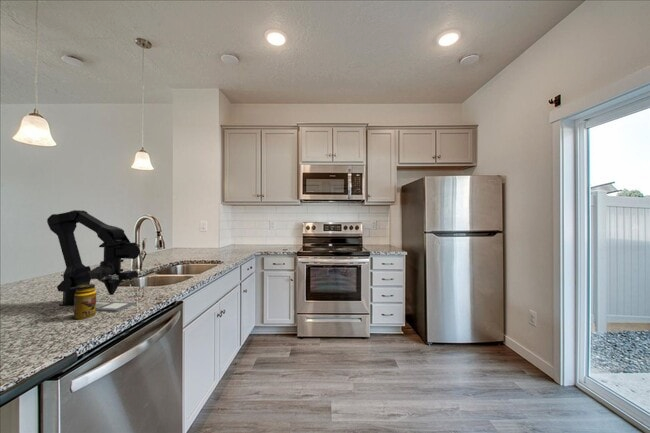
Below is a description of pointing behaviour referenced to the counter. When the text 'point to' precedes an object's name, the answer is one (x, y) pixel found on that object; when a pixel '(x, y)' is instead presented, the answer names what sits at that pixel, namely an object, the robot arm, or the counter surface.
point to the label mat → (112, 306)
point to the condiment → (84, 303)
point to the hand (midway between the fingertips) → (111, 294)
